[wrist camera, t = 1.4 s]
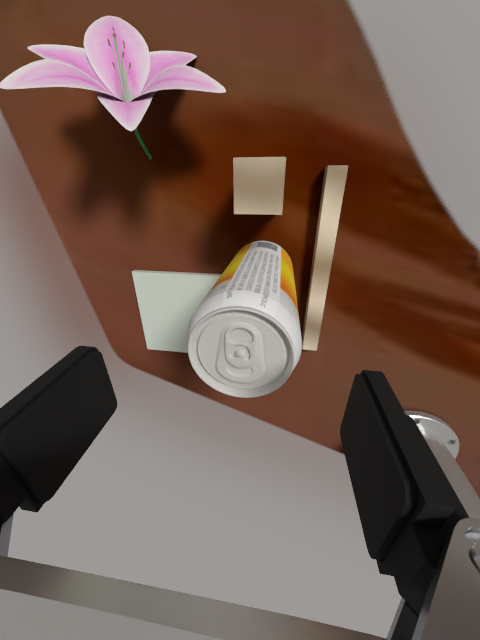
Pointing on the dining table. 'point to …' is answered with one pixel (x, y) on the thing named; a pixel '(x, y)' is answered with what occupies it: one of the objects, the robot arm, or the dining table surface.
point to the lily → (113, 71)
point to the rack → (267, 198)
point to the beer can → (248, 324)
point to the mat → (170, 305)
